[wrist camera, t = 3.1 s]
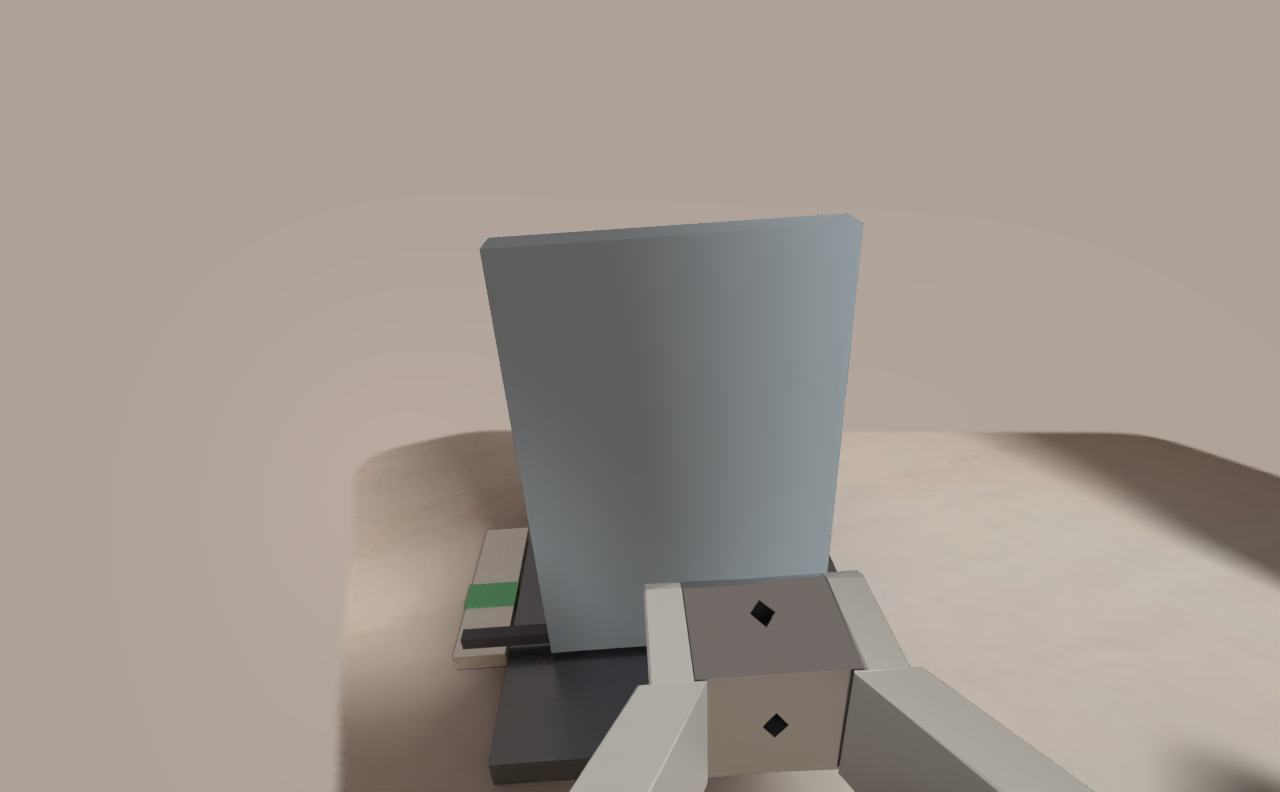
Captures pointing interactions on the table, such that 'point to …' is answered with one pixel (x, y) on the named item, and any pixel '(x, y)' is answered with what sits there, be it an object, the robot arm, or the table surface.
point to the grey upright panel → (671, 409)
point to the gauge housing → (542, 672)
